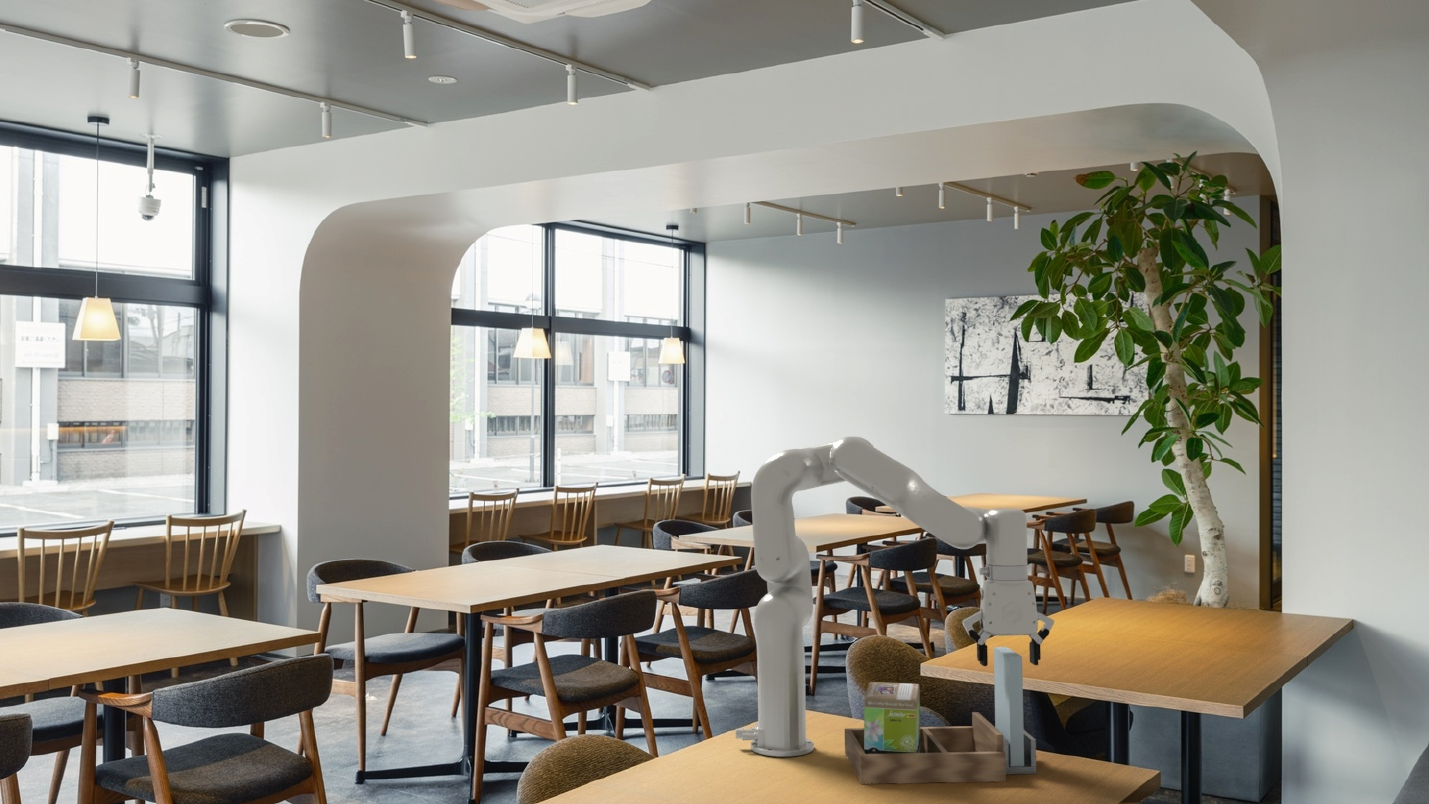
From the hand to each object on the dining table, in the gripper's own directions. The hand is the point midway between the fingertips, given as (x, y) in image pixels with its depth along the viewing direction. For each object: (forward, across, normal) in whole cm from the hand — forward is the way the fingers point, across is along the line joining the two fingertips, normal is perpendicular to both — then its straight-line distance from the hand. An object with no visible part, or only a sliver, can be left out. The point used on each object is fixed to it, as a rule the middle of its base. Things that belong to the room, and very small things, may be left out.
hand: (1008, 664), depth 219 cm
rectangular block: (+18, 0, 0) cm, 18 cm away
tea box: (+19, -22, 0) cm, 30 cm away
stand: (+19, 0, 0) cm, 19 cm away
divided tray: (+19, -17, 0) cm, 25 cm away
